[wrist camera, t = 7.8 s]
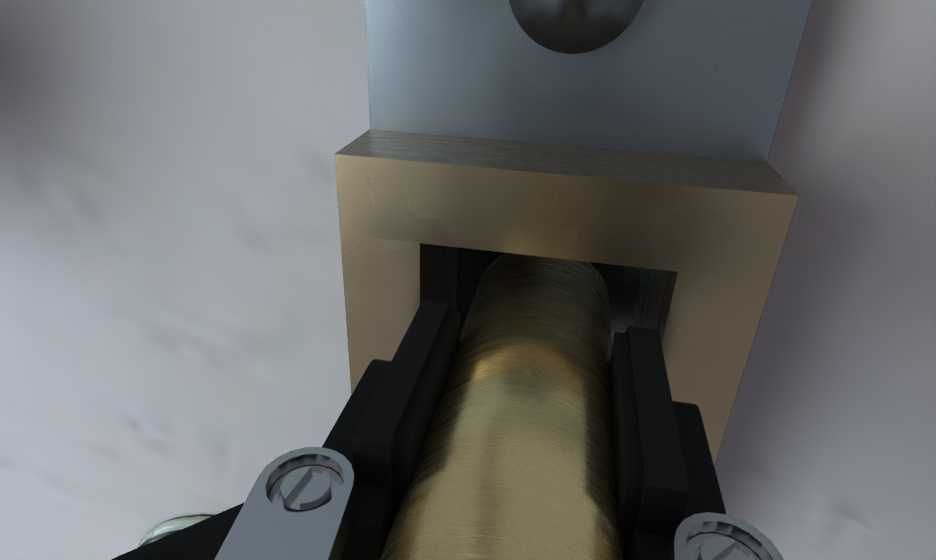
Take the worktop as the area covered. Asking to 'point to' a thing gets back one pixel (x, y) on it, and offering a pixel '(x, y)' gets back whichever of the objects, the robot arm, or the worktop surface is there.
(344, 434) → the robot arm
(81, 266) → the worktop surface
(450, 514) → the pin
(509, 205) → the peg hole board
